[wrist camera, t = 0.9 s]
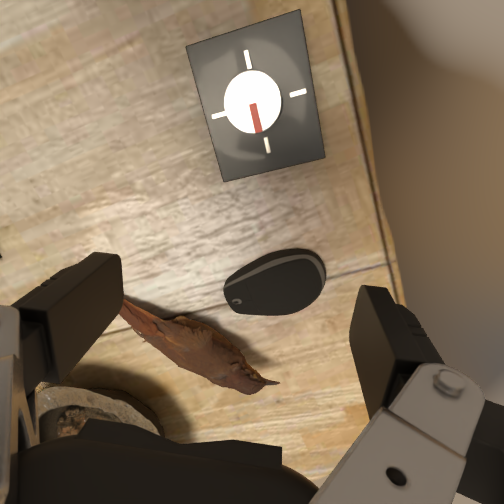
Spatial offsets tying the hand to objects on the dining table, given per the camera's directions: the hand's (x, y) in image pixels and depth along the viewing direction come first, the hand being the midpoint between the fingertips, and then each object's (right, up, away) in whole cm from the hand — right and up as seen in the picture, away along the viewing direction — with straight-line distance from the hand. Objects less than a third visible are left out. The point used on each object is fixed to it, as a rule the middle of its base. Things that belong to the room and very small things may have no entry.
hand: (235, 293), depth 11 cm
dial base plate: (+1, +16, +22) cm, 27 cm away
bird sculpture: (-7, -9, +33) cm, 35 cm away
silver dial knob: (+1, +15, +19) cm, 24 cm away
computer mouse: (+3, -2, +29) cm, 29 cm away
